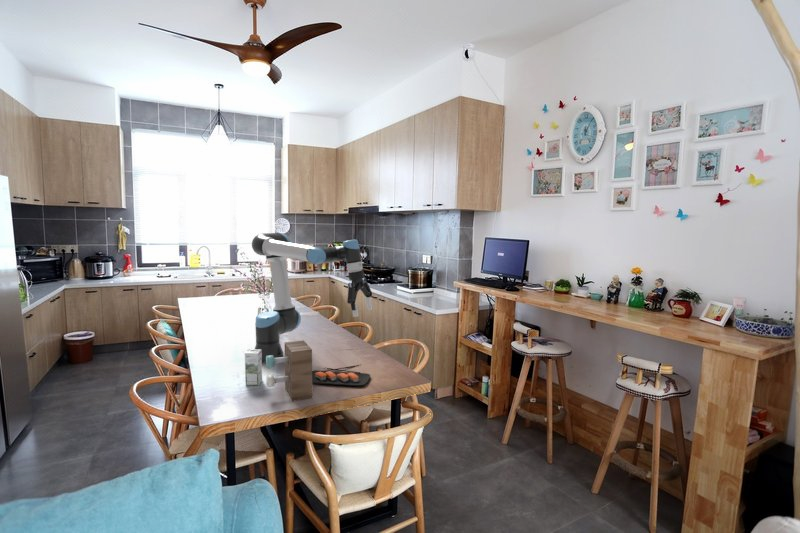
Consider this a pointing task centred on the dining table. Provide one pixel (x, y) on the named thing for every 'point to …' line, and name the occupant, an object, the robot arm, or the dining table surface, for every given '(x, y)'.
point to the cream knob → (275, 380)
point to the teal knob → (275, 360)
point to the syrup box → (253, 366)
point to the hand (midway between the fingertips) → (363, 313)
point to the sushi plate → (340, 377)
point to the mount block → (298, 370)
